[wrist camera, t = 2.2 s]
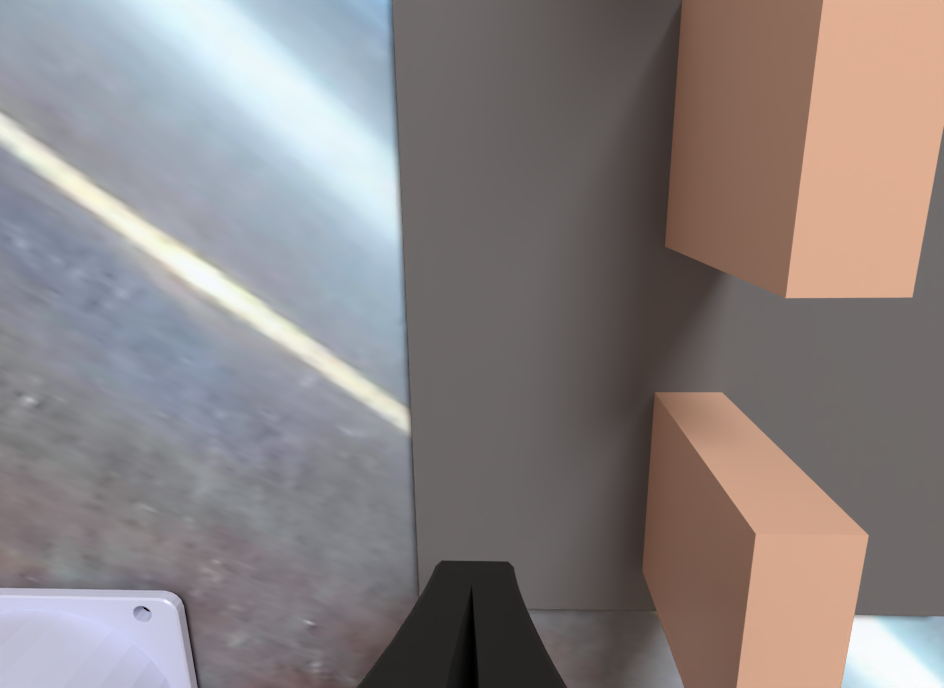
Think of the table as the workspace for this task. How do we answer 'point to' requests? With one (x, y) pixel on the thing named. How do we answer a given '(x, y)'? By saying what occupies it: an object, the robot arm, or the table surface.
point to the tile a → (745, 553)
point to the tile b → (807, 142)
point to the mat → (621, 316)
